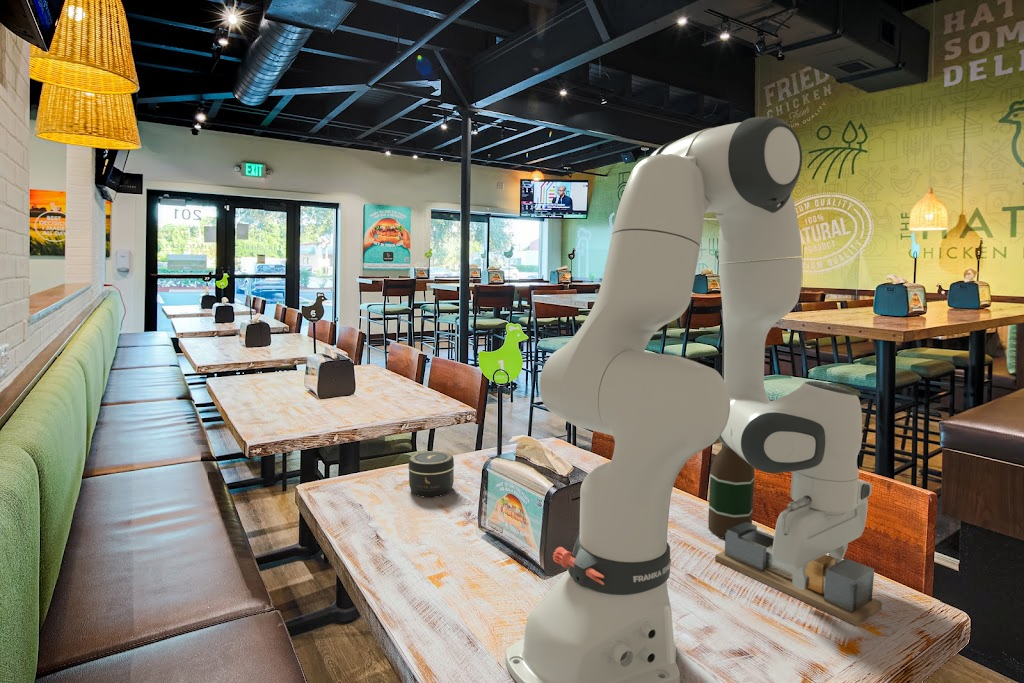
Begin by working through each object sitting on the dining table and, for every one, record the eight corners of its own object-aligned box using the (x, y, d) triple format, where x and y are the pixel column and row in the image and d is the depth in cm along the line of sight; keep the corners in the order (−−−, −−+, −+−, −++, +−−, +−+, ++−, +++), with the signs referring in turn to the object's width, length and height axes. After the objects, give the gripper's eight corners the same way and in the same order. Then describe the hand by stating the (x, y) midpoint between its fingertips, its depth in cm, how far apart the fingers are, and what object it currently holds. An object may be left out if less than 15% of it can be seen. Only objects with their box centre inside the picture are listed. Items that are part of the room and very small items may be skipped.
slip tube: (849, 606, 87) (851, 575, 86) (760, 566, 98) (761, 539, 97) (860, 598, 88) (862, 569, 88) (772, 561, 100) (773, 534, 99)
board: (855, 625, 84) (856, 618, 84) (715, 560, 103) (715, 554, 102) (881, 608, 88) (882, 601, 88) (742, 548, 107) (742, 543, 107)
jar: (405, 498, 129) (404, 464, 129) (412, 482, 139) (412, 450, 138) (451, 498, 130) (451, 464, 129) (455, 482, 139) (455, 450, 139)
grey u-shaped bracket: (762, 572, 97) (763, 544, 96) (724, 555, 102) (725, 528, 102) (781, 563, 100) (782, 535, 99) (743, 547, 105) (744, 521, 105)
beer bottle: (755, 543, 109) (762, 413, 106) (710, 539, 111) (716, 410, 108) (747, 525, 117) (754, 403, 114) (705, 521, 118) (711, 401, 115)
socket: (852, 613, 85) (854, 580, 84) (823, 600, 88) (826, 568, 88) (871, 600, 88) (874, 568, 88) (843, 588, 92) (846, 558, 91)
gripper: (806, 512, 82) (800, 609, 83) (877, 482, 93) (871, 567, 95) (763, 498, 87) (758, 589, 89) (836, 471, 99) (830, 552, 100)
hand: (817, 577), depth 92 cm, fingers open, 8 cm apart
